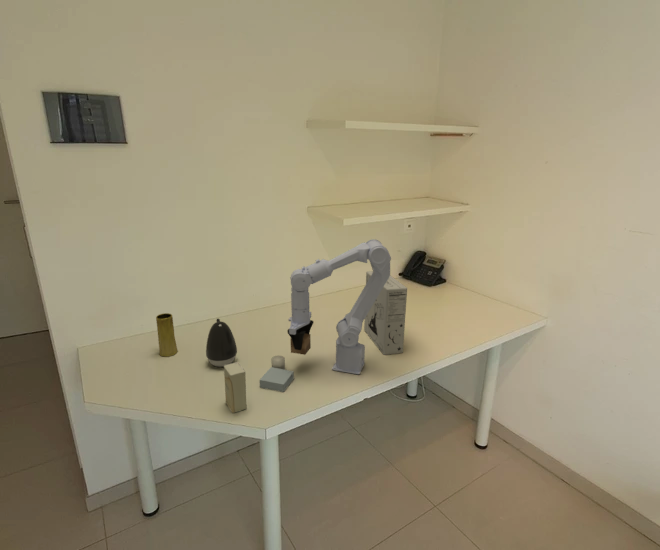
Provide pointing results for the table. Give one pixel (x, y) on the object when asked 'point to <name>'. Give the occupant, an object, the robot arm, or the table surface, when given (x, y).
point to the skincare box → (235, 387)
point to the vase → (166, 335)
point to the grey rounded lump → (278, 362)
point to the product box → (387, 317)
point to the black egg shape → (220, 345)
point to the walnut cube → (305, 345)
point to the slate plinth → (276, 379)
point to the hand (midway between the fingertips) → (301, 345)
